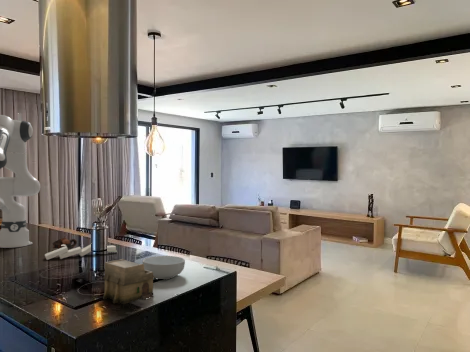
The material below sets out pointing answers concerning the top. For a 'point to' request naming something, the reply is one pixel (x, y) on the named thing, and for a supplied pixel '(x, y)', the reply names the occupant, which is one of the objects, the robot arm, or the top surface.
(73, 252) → the domino
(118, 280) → the miniature house
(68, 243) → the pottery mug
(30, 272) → the top surface
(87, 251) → the domino
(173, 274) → the cereal bowl
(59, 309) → the top surface
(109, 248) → the domino
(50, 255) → the domino
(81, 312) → the top surface
